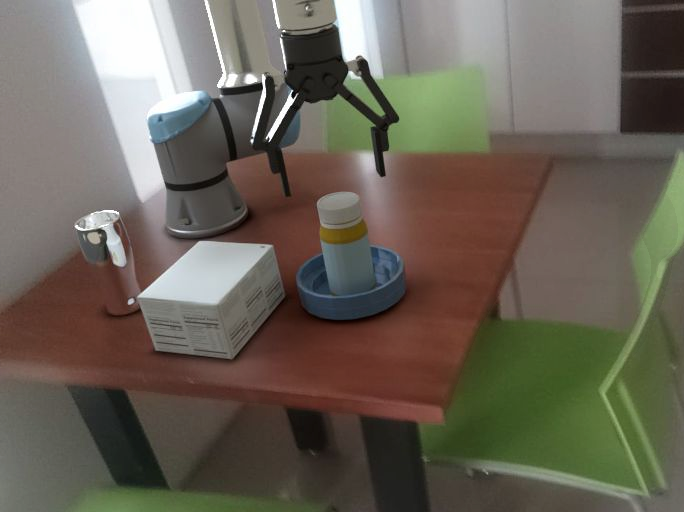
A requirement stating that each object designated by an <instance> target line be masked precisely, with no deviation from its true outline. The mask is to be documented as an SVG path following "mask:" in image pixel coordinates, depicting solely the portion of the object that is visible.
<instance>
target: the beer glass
mask: <svg viewBox="0 0 684 512" xmlns="http://www.w3.org/2000/svg"><path fill="white" fill-rule="evenodd" d="M73 226H74V229H75V232H76V236H77V240H78V243H79V246H80V250H81V253H82V255H83V257H84V260H85V262H86V264H87V265H88V268H89V269H90V271H91V272H92V274H93V276H94V277H95V279H96V280H97V282H98V284H99V286H100V288H101V290H102V292H103V296H104V300H105V306H106V311H107V313H108V314H109V315H112V316H117V317H119V316H126V315H130V314H133V313H135V312H138V311H139V310H141V307H140V304H139V302H138V299H137V297H138V296H139V295H140V294H141V293H142V292H143V291H142V289H141V287H140V285H139V282H138V279H137V274H136V265H135V259H134V253H133V248H132V244H131V240H130V237H129V235H128V231H127V229H126V227H125V225H124V223H123V220H122V218H121V215H120V213H119V212H117V211H114V210H102V211H96V212H92V213H90V214H86V215H84V216H83V217H81V218H79V219H78V220H77V221H75V222H74V225H73Z"/></svg>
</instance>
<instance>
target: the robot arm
mask: <svg viewBox="0 0 684 512" xmlns="http://www.w3.org/2000/svg"><path fill="white" fill-rule="evenodd" d="M204 2H205V6H206V10H207V13H208V18H209V21H210V26H211V29H212V33H213V37H214V42H215V45H216V49H217V53H218V57H219V60H220V64H221V68H222V69H221V70H222V72H223V74H222V77H221V78H220V80H219V82H218V84H217V87H218V91H219V96H215V97H211V95H210V94H209V93H208V92H207V91H205V90H194V91H186V92H182V93H179V94H176V95H173V96H170V97H168V98H165V99H164V100H162V101H159V102H158V103H157V104H156V105H154V106H153V107H152V108H151V109H150V110H149V112H148V114H147V116H146V121H147V122H146V123H147V127H148V131H149V140H150V142H151V143H152V145H153V148H154V151H155V154H156V159H157V162H158V165H159V169H160V173H161V176H162V180H163V183H164V187H165V192H166V193H165V214H164V216H165V218H164V220H165V226H166V229H167V232H168V233H169V234H170V235H172V236H174V237H177V238H181V239H204V238H209V237H215V236H218V235H221V234H223V233H226V232H229V231H231V230H233V229H235V228H237V227H239V226H240V225H241V224H242V223H244V222H245V221H246V220H247V218H248V216H249V210H248V207H247V203H246V201H245V199H244V197H243V196H242V194H241V193H240V191H239V189H238V188H237V186H236V184H235V183H234V182H233V180H232V179H231V177H230V174H229V173H230V172H229V170H228V165H227V163H231V162H234V161H239V160H243V159H247V158H249V157H254V156H257V155H262V154H266V156H267V160H268V161H267V162H268V166H269V169H270V172H271V173H272V174H273V175H276V174H279V178H280V183H281V188H282V191H283V194H284V197H285V198H289V197H292V194H291V189H290V184H289V179H288V174H287V168H286V164H285V160H284V155H283V150H282V149H285V148H287V147H291V146H294V145H295V143H296V142H297V141H298V140H299V137H300V133H301V108H302V106H303V105H304V103H308V104H310V105H311V104H316V103H318V102H320V101H325V102H327V101H333V100H334V99H335V98H336V97H337V96H338V95H339V96H340V97H341V98H342V99H343V100H345V101H346V102H348V103H349V104H350V105H351V106H352V107H353V108H354V109H356V110H357V111H358V112H359V113H360V114H361V115H363V116H364V118H366V119H367V120H369V121H370V122H371V123H372V124H373V125H374V126H370V127H369V130H370V135H371V141H372V142H371V143H372V151H373V157H374V164H375V165H374V166H375V172H376V173H377V174H378V175H379V177H380V178H384V177H386V176H387V175H386V174H387V173H386V166H385V157H384V152H385V153H386V152H389V150H390V142H389V135H388V133H389V132H388V131H389V128H390V126H391V125H393V124H397V123H398V122H399V121H400V116H399V114H398V113H397V112H396V110H395V109H394V107H393V105H392V104H391V103H390V101H389V100H388V98H387V97H386V95H385V94H384V92H383V91H382V89H381V88H380V86H379V85H378V83H377V81H376V80H375V79H374V78H373V75H372V73H371V68H370V65H369V61H368V60H367V59H366V58H365V57H364V56H363V55H361V54H360V55H357V56H356V57H355V59H352V60H349V61H345V59H344V57H343V51H342V43H341V37H340V31H339V29H340V28H339V26H337V25H336V24H335V22H336V21H337V19H338V17H337V11H336V3H335V0H272V5H273V9H274V15H275V21H276V25H277V27H278V29H280V30H282V31H281V32H280V34H279V40H280V41H279V42H280V47H281V52H282V57H283V63H284V71H283V73H282V72H281V71H280V70H278V69H277V68H275V67H274V66H273V65H272V64H271V59H270V54H269V50H268V46H267V41H266V38H265V33H264V28H263V25H262V24H263V23H262V20H261V16H260V11H259V7H258V2H257V0H204ZM349 72H352V74H353V75H354V76H356V77H358V78H359V77H360V79H361V80H362V83H364V85H365V87H366V88H367V90H369V92H370V94H371V95H372V97H373V98H374V100H375V101H376V102H377V104H378V105H379V107H380V108H381V110H382V111H383V113H384V114H383V115H381V116H380V115H379V114H378V113H377V112H376V111H375V110H374V109H372V108H371V107H370V106H369V105H368V104H366V102H364V101H363V100H362V99H361V98H360V97H359V96H357V95H356V94H355V93H354V92H353V91H351V90H350V88H348V86H346V85H345V84H344V83H345V81H346V78H347V76H348V74H349Z"/></svg>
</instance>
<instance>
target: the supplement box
mask: <svg viewBox="0 0 684 512" xmlns="http://www.w3.org/2000/svg"><path fill="white" fill-rule="evenodd" d="M285 297H286V292H285V289H284V284H283V281H282V277H281V272H280V268H279V263H278V260H277V255H276V251H275V247H274V245H273V244H267V243H246V242H244V243H243V242H227V241H226V242H225V241H214V240H213V241H212V240H199V241H198V242H196V243H195V245H193V246H192V247H191V248H189V250H188V251H186V252H185V254H183V255H182V256H181V257H180V258H179V259H178V260H177V261H175V263H173V264H172V265H171V266H170V267H168V269H167V270H165V272H163V273H162V274H161V275H160V276H159V277H158V278H156V279H155V281H153V282H152V283H151V284H150V285H149V286H148V287H146V288H145V289H144V290H143V291H142V293H141V294H140V295H139V296H138V297H137V299H138V302H139V304H140V307H141V309H140V310H141V312H142V316H143V318H144V319H143V320H144V321H145V324H146V327H147V330H148V333H149V335H150V338H151V341H152V344H153V347H154V350H155V351H156V352H166V353H173V354H174V353H175V354H181V355H192V356H199V357H210V358H219V359H226V360H234V358H235V357H236V355H237V354H238V353H240V351H241V350H242V348H243V347H244V346H245V345H246V344H248V341H249V340H250V339H251V338H252V337H253V335H254V334H256V332H257V331H258V330H259V328H261V326H262V325H263V324H264V322H265V321H266V320H267V319H268V318H269V316H270V315H271V314H272V313H273V311H274V310H275V309H276V308H277V307H278V306H279V304H280V303H281V302H282V301H283V300H284V299H285Z"/></svg>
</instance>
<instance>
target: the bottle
mask: <svg viewBox="0 0 684 512" xmlns="http://www.w3.org/2000/svg"><path fill="white" fill-rule="evenodd" d="M316 208H317V213H318V214H317V215H318V218H319V223H320V226H319V241H320V245H321V251H322V253H323V256H324V262H325V267H326V272H327V278H328V283H329V288H330V292H331V294H332V295H333V296H346V295H354V294H359V293H364V292H368V291H370V290H373V289H375V287H376V283H375V275H374V269H373V262H372V256H371V249H370V245H371V242H370V237H369V231H368V230H369V229H368V225H367V223H366V221H365V220H364V218H363V216H364V215H363V210H362V204H361V198H360V196H359V195H358V194H357V193H355V192H351V191H337V192H332V193H329V194H326V195H324V196H322V197H320V198H319V199H318V200H317V202H316Z"/></svg>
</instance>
